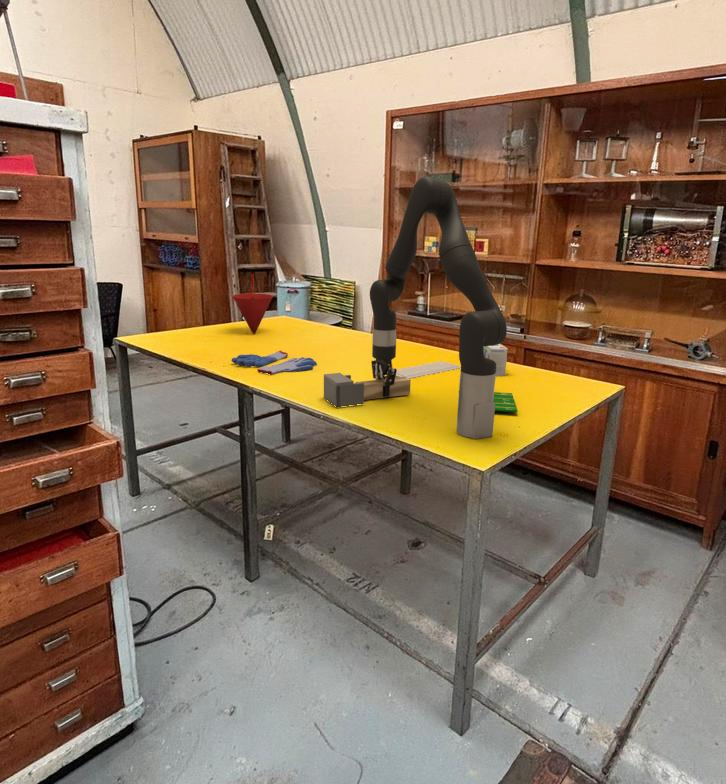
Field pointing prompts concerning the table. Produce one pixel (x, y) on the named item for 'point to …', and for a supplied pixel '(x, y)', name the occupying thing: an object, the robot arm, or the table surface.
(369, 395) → the slat
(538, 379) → the table surface
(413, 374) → the baseboard molding
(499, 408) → the electronic board model
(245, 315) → the fire bucket
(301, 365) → the pair of gloves
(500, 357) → the light bulb box
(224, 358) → the table surface
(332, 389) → the end cap
